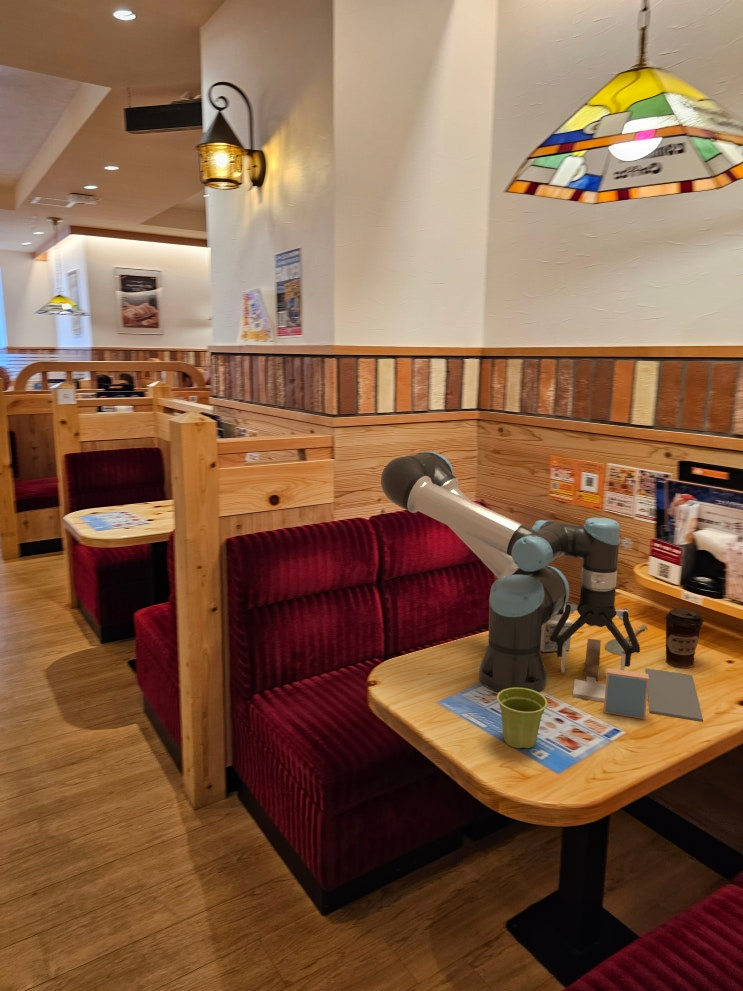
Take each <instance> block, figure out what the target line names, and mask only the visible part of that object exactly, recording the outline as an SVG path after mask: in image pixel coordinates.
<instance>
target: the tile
mask: <svg viewBox="0 0 743 991" xmlns="http://www.w3.org/2000/svg"><path fill="white" fill-rule="evenodd" d="M648 682H649V676H648V674H646V672H637V671H631V670H626V669H624V670H620V669H617V668H609V667H606V676H605V684H606V687H605V700H604V702H603V713H605V714H611V715H612V714H613V715H617V716H622V717H629V718H635V719H640V718H641V719H640V720H646V714H647V703H648V702H647V700H648Z"/></svg>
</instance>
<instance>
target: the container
mask: <svg viewBox="0 0 743 991" xmlns="http://www.w3.org/2000/svg"><path fill="white" fill-rule="evenodd" d="M565 606H566V605H565ZM565 606H564V607H563V609H562V610H561V611H560V612H559V613H558V614H557V615H555V616H553V617H552V618H551V619H550V620H548V621H547V622H546V623H545V624H543V625H542V630H541V646H540V651H541V652H543V653H549V652H550V653H551V652H557V647H558V645H557V643H556V642H554V641H551V640H550V636H551V633H552V632H553V630H554V628H555V627H556V625H557V623H558V622H559V620H560V618H561V616H562V615H563V613H564V611H565ZM572 624H573V621H572V620H570V619H569V618H568V619H567V621H566V623H565V624H564V626H563V628H562V629H561V631H560V633H559V634H558V636H561V635H562V634H563V633H564V632H565V631H566V630H567V629H568V628H569V627H570V626H571V625H572ZM571 638H572V636H571V637H570V638H569V639H568V640H566V641H565V642H567V645H566V651H569V650H570V648H571Z"/></svg>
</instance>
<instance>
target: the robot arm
mask: <svg viewBox="0 0 743 991" xmlns="http://www.w3.org/2000/svg"><path fill="white" fill-rule="evenodd" d="M453 470H454V468H453V466H452V464H451V462H450V461H449V460H448V459H447V457H445V456H444V455H442V454H440V453H438V452H434V451H421V452H418V453H416V454H410V455H406V456H399V457H396V458H393V459H392V460H390V461H389V462H388V463H387V464H386V465H385V467H384V468H383V470H382V471H381V474H380V475H381V476H380V485H381V489H382V492H383V493H384V495H385V497H386V498H387V499H388V500H389V501H390V502H391V503H393V504H395V505H397V506H398V507H400V508H402V509H404V510H406V511H408V512H410V513H412V514H415V513H418V512H420V513H422V514H424V515H426V516H428V517H430V518H432V519H434V520H436V521H438V522H440V523H442V524H443V525H446V526H447V527H448V528H449V529H451V531H452V532H454V533H455V535H456V536H457V537H458V538H459V539H460V540H461V541H462V542H463V543H464V544H465V545H466V546H467V547H468V548H469V549H470V550H471V551H472V552H473V554H475V555H476V556H477V558H478V559H480V561H481V562H482V563H483V564H484V565H485V566H486V567H487V568H488V569H489V570H490V571H491V572H492V573H493V574H494V575H495V577H497V579H496V580H495V581H494V582H493V583H492V585H491V587H490V594H489V598H488V602H489V614H488V616H489V617H488V619H489V620H488V638H487V639H488V642H487V644H488V645H487V647H486V650H485V652H484V655H483V657H482V660H481V663H480V664H479V674H478V677H479V678H478V679H479V680H480V683H481V684H483V685H484V686H485V687H486V688H488V689H490V690H493V691H495V692H497V693H499V692H501V691H502V690H504V689H508V688H526V689H531V690H534V691H536V692H538V693H540V692H541V691H543V690H544V689H545V688H546V686H547V679H548V678H547V677H548V673H547V669H546V666H545V662H544V659H543V656H542V651H541V650H540V646H541V630H542V625H543V624H545V623H546V622H547V621H548V620H550V619H551V618H552V617H553V616H555V615H557V614H558V613H559V612H560V611H561V610H562V609H563V607H564V606H565V605H566V606H565V611H564V613H563V615H562V616H561V618H560V620H559V622H558V623H557V625H556V627H555V628H554V630H553V632H552V633H551V636H550V640H551V641H554V642H556V643H557V645H558V647H557V651H556V655H557V656H556V657H557V658H561V663H560V664H561V666H560V667H561V668H560V672H561V673H565V671H566V659H567V658H566V657H567V650H566V645H567V642H565V641H566V640H568V639H569V638H570V637H571V638H572V636H573V635H574V634H576V632H577V631H578V630H579V629H580V628H582V627H583V626H584V625H585V624H586V625H587V626H590V627H595V626H596V627H597V628H598V627H599V628H603V627H606V628H607V630H608V631H609V632H610V633H611V634H612V636H613V637H614V639H616V640H617V641H618V643H619V644H620V645H621V647H622V648H623V650H622V656H621V659H620V667H619V668H620V669H619V670H626V669H625V667H626V668H629V667H630V666H631V660H632V659H631V658H632V654H634V653H635V654H638V653H639V654H640V652H641V646H640V643H639V641H638V638H637V636H636V634H635V633H634V631H635V630H634V629H633V626H632V623H631V621H630V619H629V618H630V617H629V614H630V613H629V609H628V608H626V607H625V608H623V609H616V607H615V605H616V604H615V603H616V592H617V590H616V589H615V588H616V587H617V576H618V563H619V562H618V560H619V552H620V544H621V540H620V536H621V535H620V529H621V528H620V524H619V522H618V521H616V520H614V519H611V518H607V517H589V518H587V519H586V520H585V523H584V524H583V525H579V524H574V523H573V524H572V523H567V522H566V523H565V522H560V521H554V520H550V519H549V520H545V519H544V520H541V519H540V520H539V519H538V520H537V521H535V523H534V524H533V526H532V528H530V527H528V526H526V525H524V524H522V523H521V522H518V521H516V520H513V519H511V518H510V517H507V516H504V515H503V514H501V513H498V512H496V511H495V510H492V509H490V508H488V507H485V506H484V505H481V504H479V503H476V502H474V501H473V500H470V499H469V497H467V495H465V493H464V492H463V491H462V490H460V488H459V479H458V478H457V477H456V476H455V475H454V471H453ZM562 556H563V557H564V556H565V557H570V558H574V559H575V558H576V559H582V560H581V561H582V565H581V584H582V585H581V586H580V594H579V604H573V603H571V602H570V601H569V598H570V586H569V582H568V579H567V578H566V576H565V575H564V574H563V573H562V571H561V570H559V569H558V568H556V567H554V566H551V565H550V566H549V564H550V563H552V562H553V561H555V560H557V559H559V558H560V557H562ZM576 611H577V613H578V614H579V615H580V616H579V617H578V618H577V619H576V620H575V621H574V622H572V625H571V626H570V627H569V628H568V629H567V630H566V631H565V632H564V633H563V634H562V635H561V636H558V634H559V633H560V631H561V629H562V628H563V626H564V624H565V623H566V621H567V619H569V617H570V615H572V614H574V612H576ZM616 616H617V617H618V619H619V620H621V621H622V624H623V627H624V629H625V632H626V634H627V636H629V642H631V644H632V646H630V645H629V644H628V642H627V641H626V640H625V638H626V637H624V635H623V634H622V633H621V631H620V630H619V628H618V627H617V626H616V624H615V622H614V621H613V619H614V618H615V617H616Z"/></svg>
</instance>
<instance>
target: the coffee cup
mask: <svg viewBox="0 0 743 991" xmlns="http://www.w3.org/2000/svg"><path fill="white" fill-rule="evenodd" d="M664 618H665V624H666V625H665V662H666V663H667V664H669V665H670V666H674V667H676V668H677V667H678V668H693V667H694V666H695V655H696V649H697V646H698V645H699V638H700V631H701V628H702V626H703V624H704V619H703V618H702V616H701V613H700V612H699V611H697V610H693V609H689V608H682V607H681V608H673V609H671V610H669V612H668V613H667V614H666V615H665V617H664Z"/></svg>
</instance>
